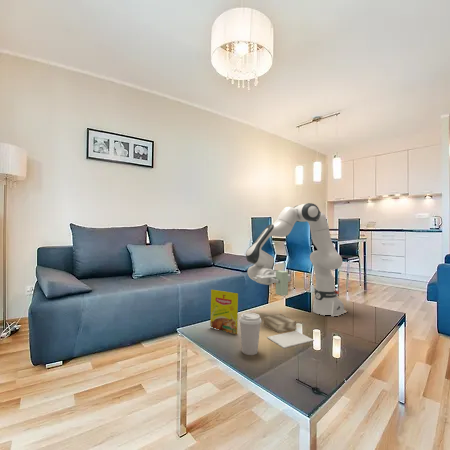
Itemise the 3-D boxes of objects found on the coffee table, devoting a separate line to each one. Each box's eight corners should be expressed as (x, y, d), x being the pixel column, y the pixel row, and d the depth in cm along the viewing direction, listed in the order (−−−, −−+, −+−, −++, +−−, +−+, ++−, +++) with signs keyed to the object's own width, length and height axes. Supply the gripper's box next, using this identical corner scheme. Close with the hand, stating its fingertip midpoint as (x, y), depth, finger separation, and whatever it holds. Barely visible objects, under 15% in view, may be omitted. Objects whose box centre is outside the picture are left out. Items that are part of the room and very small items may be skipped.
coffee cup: (234, 348, 112) (235, 313, 113) (253, 344, 116) (254, 311, 116) (244, 358, 104) (245, 320, 104) (265, 354, 107) (266, 317, 108)
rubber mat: (295, 331, 132) (295, 330, 132) (313, 340, 122) (313, 339, 122) (266, 337, 124) (266, 336, 124) (283, 348, 113) (283, 347, 113)
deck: (280, 321, 147) (280, 314, 147) (295, 328, 136) (296, 321, 136) (263, 324, 141) (263, 317, 141) (277, 332, 131) (277, 324, 131)
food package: (209, 328, 134) (210, 289, 134) (210, 327, 135) (211, 289, 135) (236, 334, 127) (237, 293, 127) (237, 334, 128) (238, 293, 128)
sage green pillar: (281, 292, 139) (281, 270, 139) (287, 295, 134) (288, 271, 135) (275, 293, 137) (276, 270, 137) (281, 295, 133) (282, 272, 133)
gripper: (251, 272, 143) (266, 276, 130) (281, 270, 152) (297, 273, 140) (251, 283, 142) (266, 289, 130) (280, 280, 152) (297, 285, 140)
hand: (283, 281), depth 135 cm, fingers closed on sage green pillar, 4 cm apart
